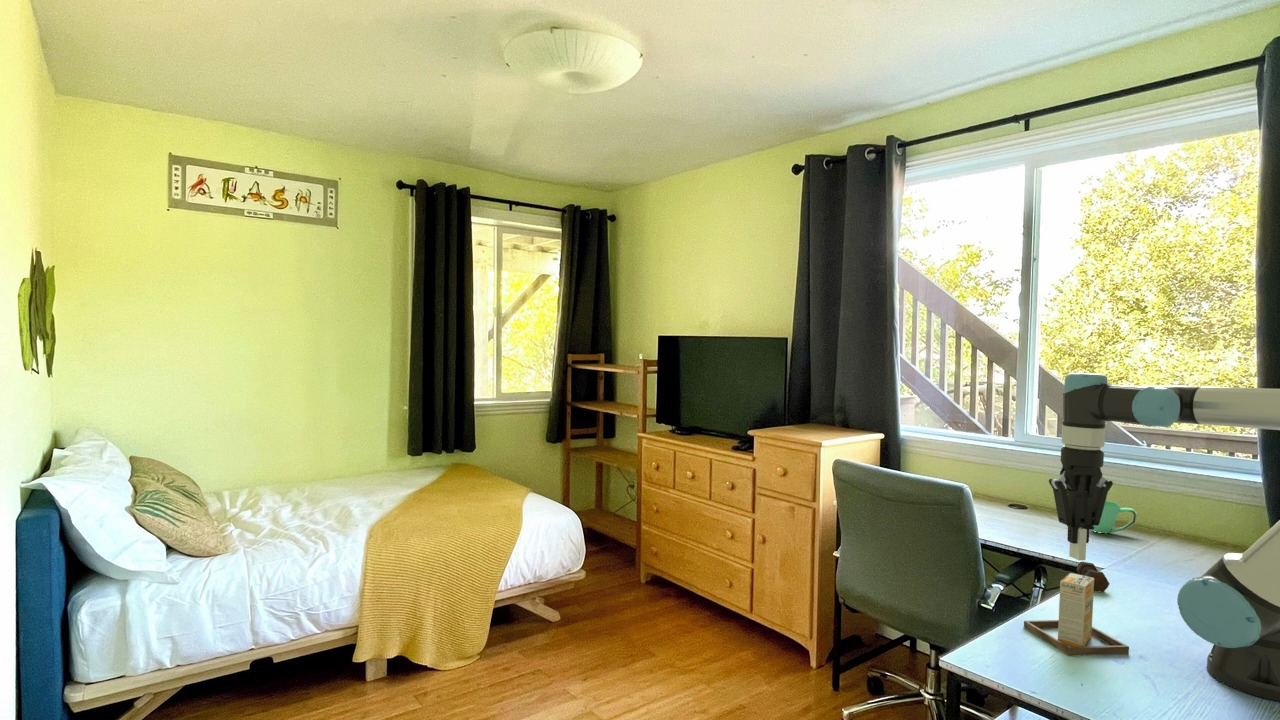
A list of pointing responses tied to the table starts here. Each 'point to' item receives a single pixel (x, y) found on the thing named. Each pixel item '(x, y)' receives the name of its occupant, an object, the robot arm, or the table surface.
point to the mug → (1113, 518)
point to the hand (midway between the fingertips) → (1077, 558)
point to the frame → (1115, 647)
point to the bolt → (1093, 575)
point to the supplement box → (1075, 610)
